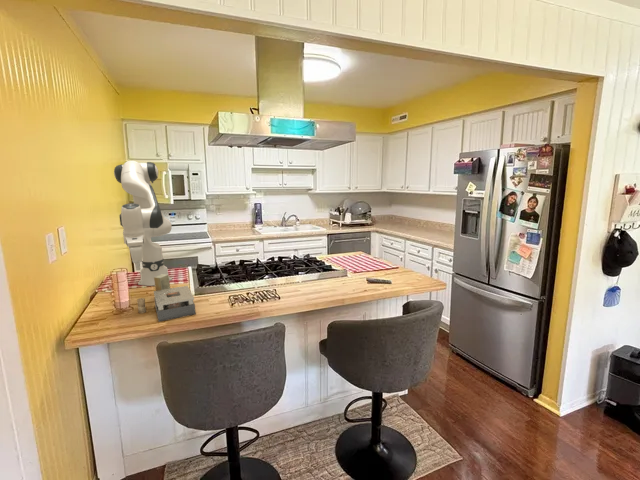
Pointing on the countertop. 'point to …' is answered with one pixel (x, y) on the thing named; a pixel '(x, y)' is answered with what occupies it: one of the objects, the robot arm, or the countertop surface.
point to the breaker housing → (174, 303)
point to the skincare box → (162, 282)
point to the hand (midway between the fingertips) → (137, 267)
